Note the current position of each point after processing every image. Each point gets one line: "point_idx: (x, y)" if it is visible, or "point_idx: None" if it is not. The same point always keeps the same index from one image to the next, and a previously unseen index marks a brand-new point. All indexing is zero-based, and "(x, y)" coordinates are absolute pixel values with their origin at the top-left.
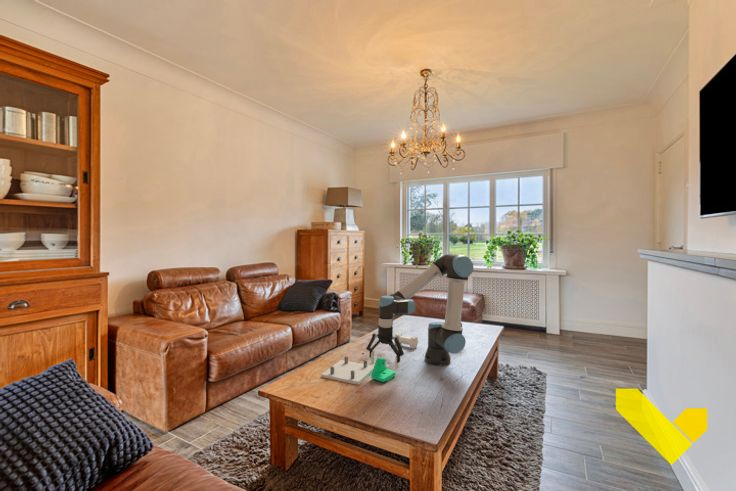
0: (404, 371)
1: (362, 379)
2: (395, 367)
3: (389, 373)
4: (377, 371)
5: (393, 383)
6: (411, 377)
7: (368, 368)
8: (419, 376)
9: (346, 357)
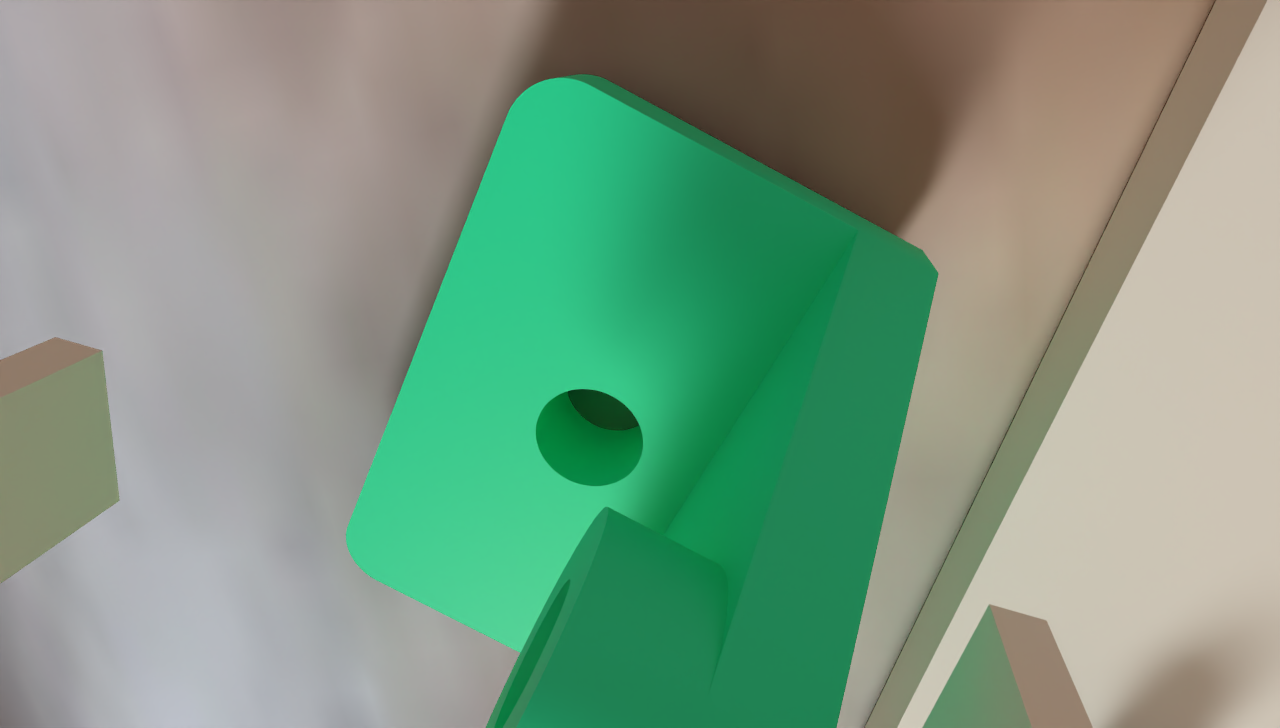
0: (301, 684)
1: (1218, 66)
2: (31, 369)
3: (456, 449)
4: (758, 417)
5: (341, 135)
6: None
7: None
8: None
9: None
